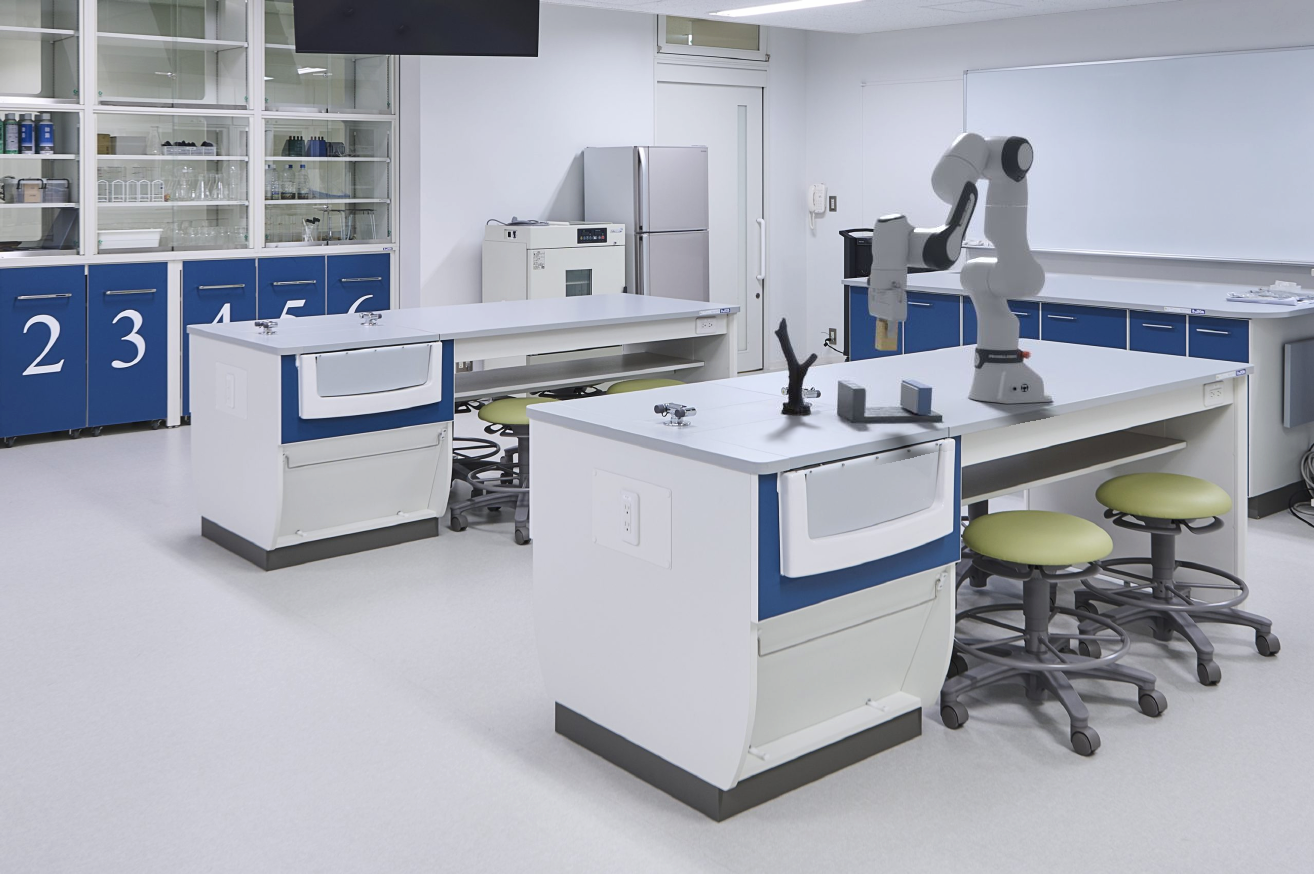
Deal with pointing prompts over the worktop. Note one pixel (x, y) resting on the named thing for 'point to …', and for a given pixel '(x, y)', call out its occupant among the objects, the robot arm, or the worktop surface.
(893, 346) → the brass block
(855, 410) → the base
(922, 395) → the sliding jaw
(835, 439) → the worktop surface
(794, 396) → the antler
